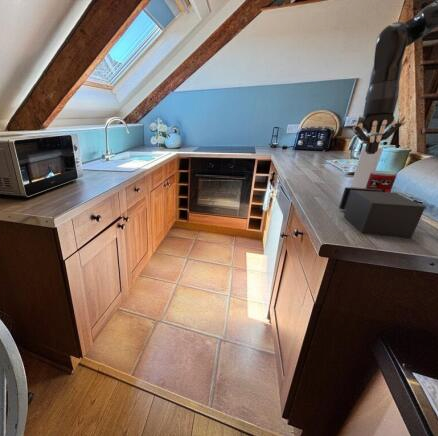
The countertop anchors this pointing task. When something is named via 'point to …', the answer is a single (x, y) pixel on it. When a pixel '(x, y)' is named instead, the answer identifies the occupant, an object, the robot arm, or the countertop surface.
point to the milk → (365, 167)
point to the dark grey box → (383, 213)
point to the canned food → (381, 180)
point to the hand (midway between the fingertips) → (370, 153)
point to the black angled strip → (348, 193)
